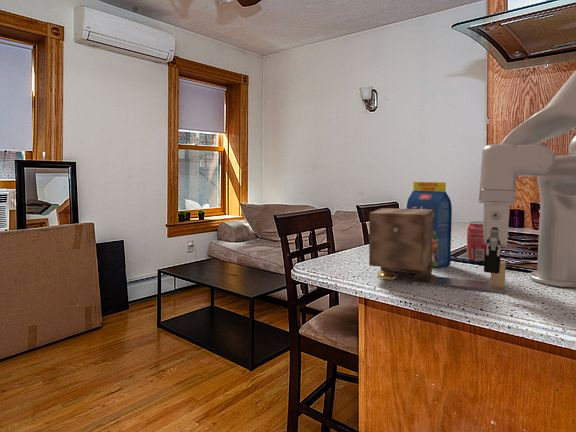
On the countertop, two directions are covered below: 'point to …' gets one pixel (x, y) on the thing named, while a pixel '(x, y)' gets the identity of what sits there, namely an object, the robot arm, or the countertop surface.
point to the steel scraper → (467, 282)
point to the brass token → (387, 275)
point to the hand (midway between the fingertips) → (491, 268)
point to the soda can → (476, 241)
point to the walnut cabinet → (401, 240)
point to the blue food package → (435, 217)
